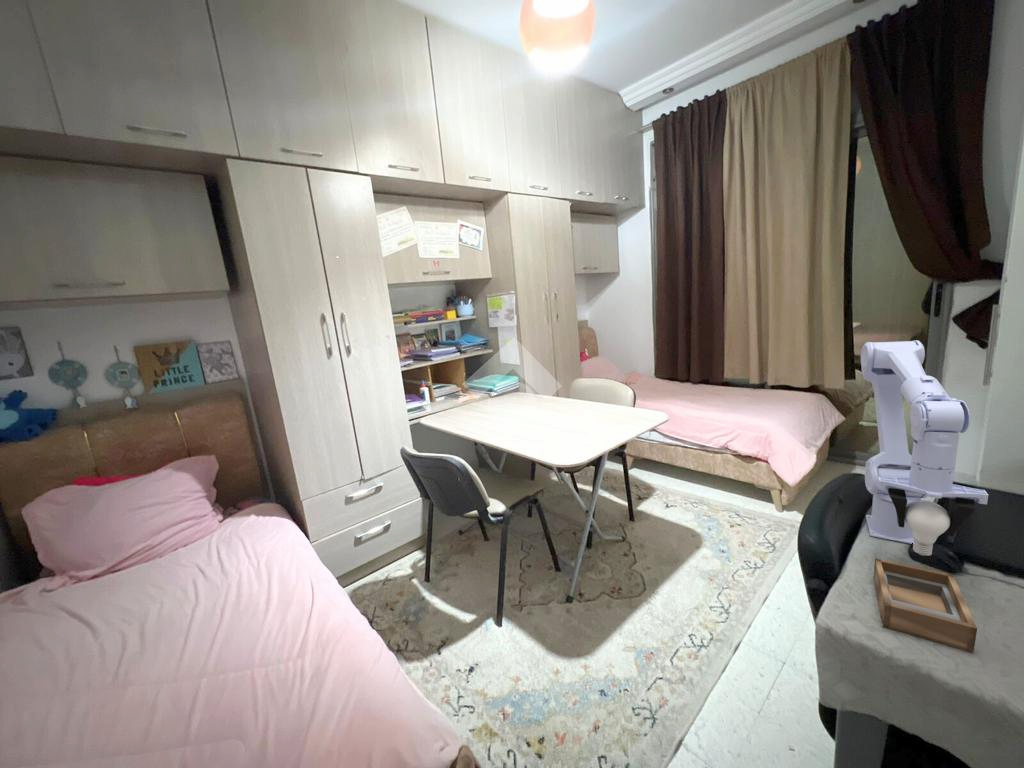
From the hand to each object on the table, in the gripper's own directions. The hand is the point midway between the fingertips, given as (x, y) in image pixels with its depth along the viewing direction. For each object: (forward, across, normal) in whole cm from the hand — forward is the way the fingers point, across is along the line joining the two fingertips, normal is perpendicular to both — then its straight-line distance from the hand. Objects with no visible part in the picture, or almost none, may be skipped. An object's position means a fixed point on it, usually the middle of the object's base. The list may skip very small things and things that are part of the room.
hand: (924, 528), depth 80 cm
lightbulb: (+6, 0, 0) cm, 6 cm away
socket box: (+10, -2, -13) cm, 16 cm away
